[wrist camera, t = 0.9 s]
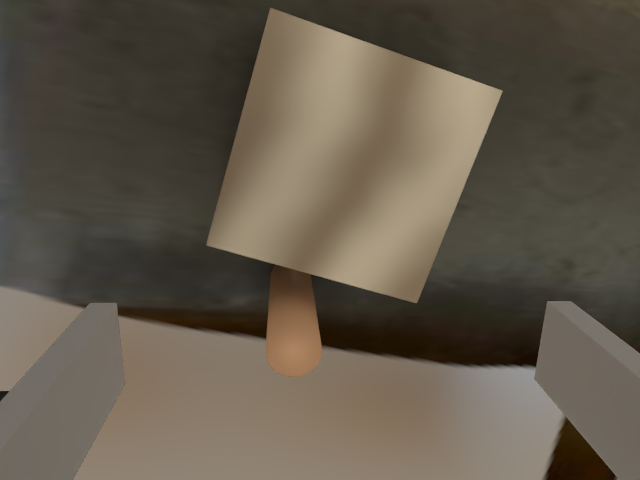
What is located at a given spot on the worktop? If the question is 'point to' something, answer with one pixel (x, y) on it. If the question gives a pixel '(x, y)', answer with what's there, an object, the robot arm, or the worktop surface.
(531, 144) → the worktop surface
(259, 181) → the open wooden box
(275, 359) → the block with rod
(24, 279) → the worktop surface
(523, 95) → the worktop surface
